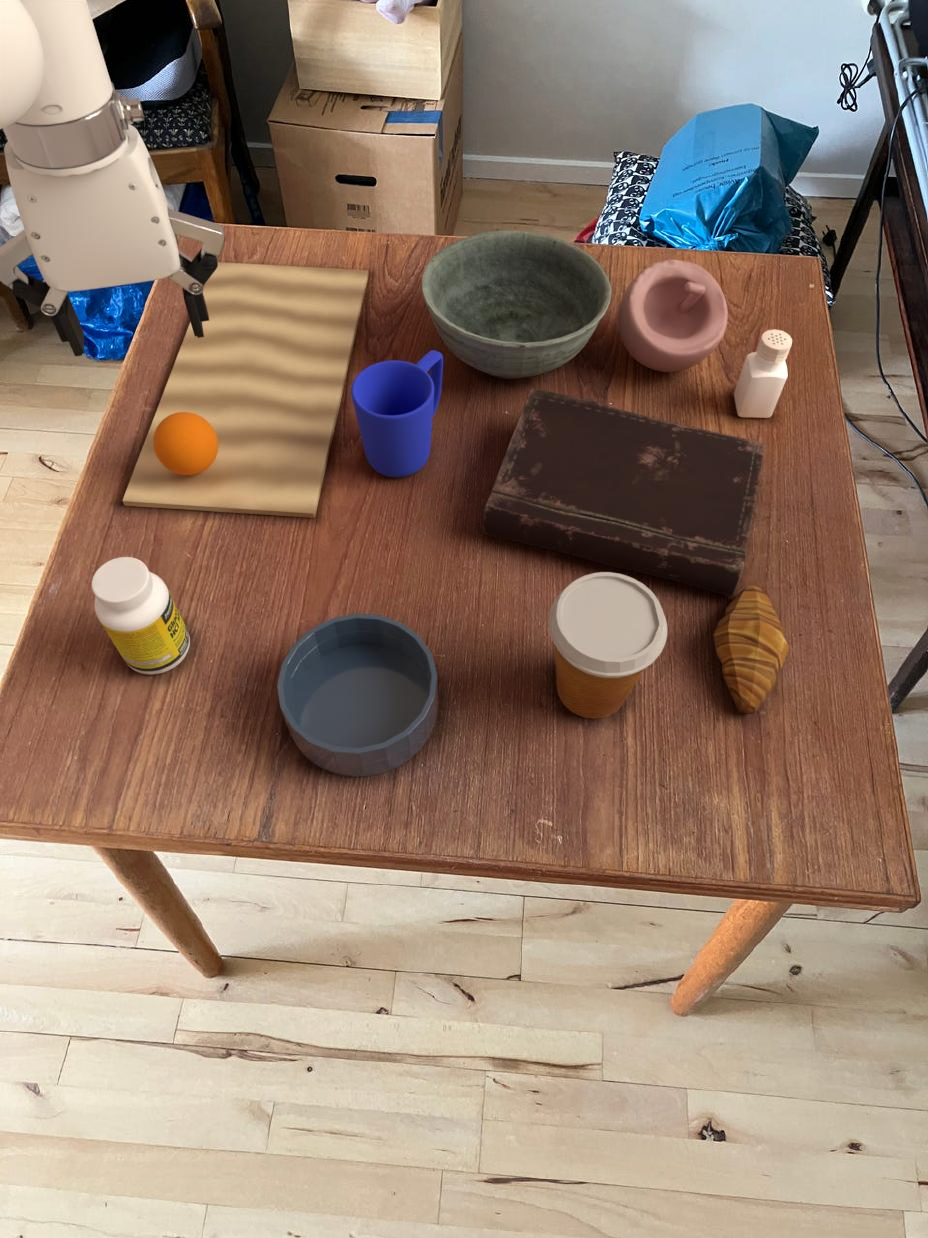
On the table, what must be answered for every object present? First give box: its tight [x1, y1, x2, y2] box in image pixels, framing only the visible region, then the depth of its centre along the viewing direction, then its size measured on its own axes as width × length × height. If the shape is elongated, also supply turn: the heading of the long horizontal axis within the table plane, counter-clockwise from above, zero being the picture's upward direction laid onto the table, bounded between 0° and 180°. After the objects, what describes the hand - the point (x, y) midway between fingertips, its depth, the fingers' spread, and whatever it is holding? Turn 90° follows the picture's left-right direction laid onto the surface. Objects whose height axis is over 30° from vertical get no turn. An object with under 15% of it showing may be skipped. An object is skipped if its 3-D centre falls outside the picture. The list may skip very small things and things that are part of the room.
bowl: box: [421, 230, 612, 380], centre depth 100 cm, size 21×21×10 cm
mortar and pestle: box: [617, 258, 729, 373], centre depth 99 cm, size 12×12×12 cm
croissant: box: [713, 585, 790, 715], centre depth 80 cm, size 14×7×5 cm, turn 168°
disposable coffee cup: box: [548, 571, 668, 720], centre depth 75 cm, size 10×10×12 cm
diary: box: [481, 387, 766, 597], centre depth 90 cm, size 19×25×5 cm
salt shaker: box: [733, 328, 793, 419], centre depth 95 cm, size 4×4×10 cm
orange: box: [153, 412, 218, 475], centre depth 91 cm, size 6×6×6 cm
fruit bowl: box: [276, 613, 439, 778], centre depth 77 cm, size 13×13×5 cm
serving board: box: [122, 261, 369, 519], centre depth 101 cm, size 40×20×1 cm, turn 175°
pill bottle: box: [91, 556, 191, 675], centre depth 77 cm, size 6×6×11 cm
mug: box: [350, 349, 444, 479], centre depth 92 cm, size 8×12×10 cm
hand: (139, 335), depth 73 cm, fingers open, 9 cm apart
